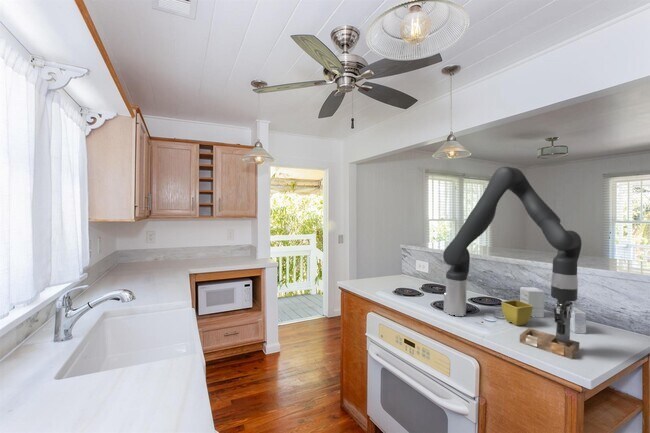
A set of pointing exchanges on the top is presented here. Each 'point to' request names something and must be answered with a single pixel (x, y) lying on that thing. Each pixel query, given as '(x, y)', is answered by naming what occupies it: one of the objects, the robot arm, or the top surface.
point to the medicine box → (578, 321)
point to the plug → (566, 336)
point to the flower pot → (517, 312)
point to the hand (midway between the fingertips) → (562, 331)
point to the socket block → (549, 343)
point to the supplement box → (533, 299)
